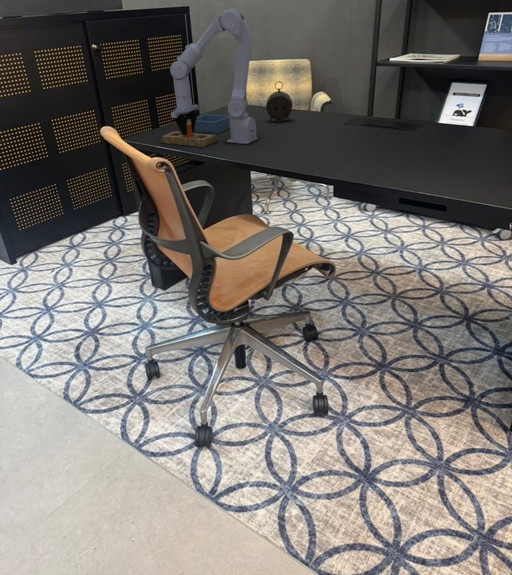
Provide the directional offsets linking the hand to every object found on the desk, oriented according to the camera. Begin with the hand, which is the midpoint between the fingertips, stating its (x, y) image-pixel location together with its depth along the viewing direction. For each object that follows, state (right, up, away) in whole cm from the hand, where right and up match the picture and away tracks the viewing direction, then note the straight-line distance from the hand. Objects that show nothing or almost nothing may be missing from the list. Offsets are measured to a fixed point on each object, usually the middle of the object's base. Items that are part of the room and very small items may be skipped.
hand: (188, 133), depth 193 cm
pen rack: (0, -3, +2) cm, 3 cm away
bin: (+7, +7, +18) cm, 21 cm away
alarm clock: (+36, +12, +22) cm, 44 cm away
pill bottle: (0, -3, +2) cm, 3 cm away
